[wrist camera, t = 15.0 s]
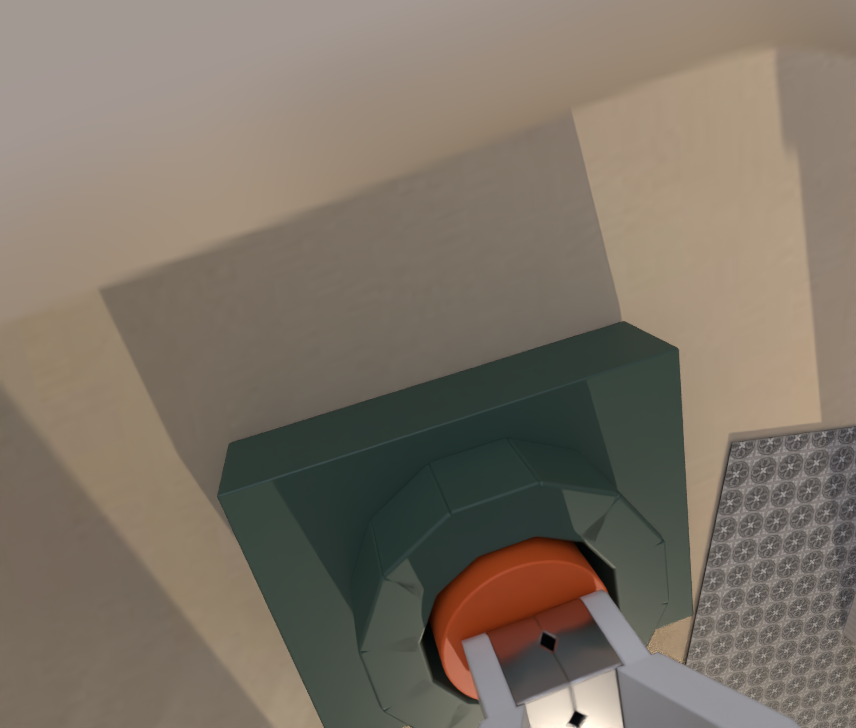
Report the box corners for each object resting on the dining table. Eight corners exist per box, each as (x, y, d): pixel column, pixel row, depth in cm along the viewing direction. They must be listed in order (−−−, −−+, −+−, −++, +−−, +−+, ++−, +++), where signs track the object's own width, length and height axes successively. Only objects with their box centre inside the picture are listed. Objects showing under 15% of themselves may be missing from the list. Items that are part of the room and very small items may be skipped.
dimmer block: (330, 678, 16) (340, 834, 12) (228, 442, 13) (202, 557, 9) (647, 561, 17) (743, 672, 13) (624, 320, 14) (741, 378, 10)
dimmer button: (441, 658, 13) (462, 728, 12) (404, 540, 12) (421, 601, 10) (581, 606, 14) (620, 666, 12) (562, 486, 12) (603, 536, 11)
